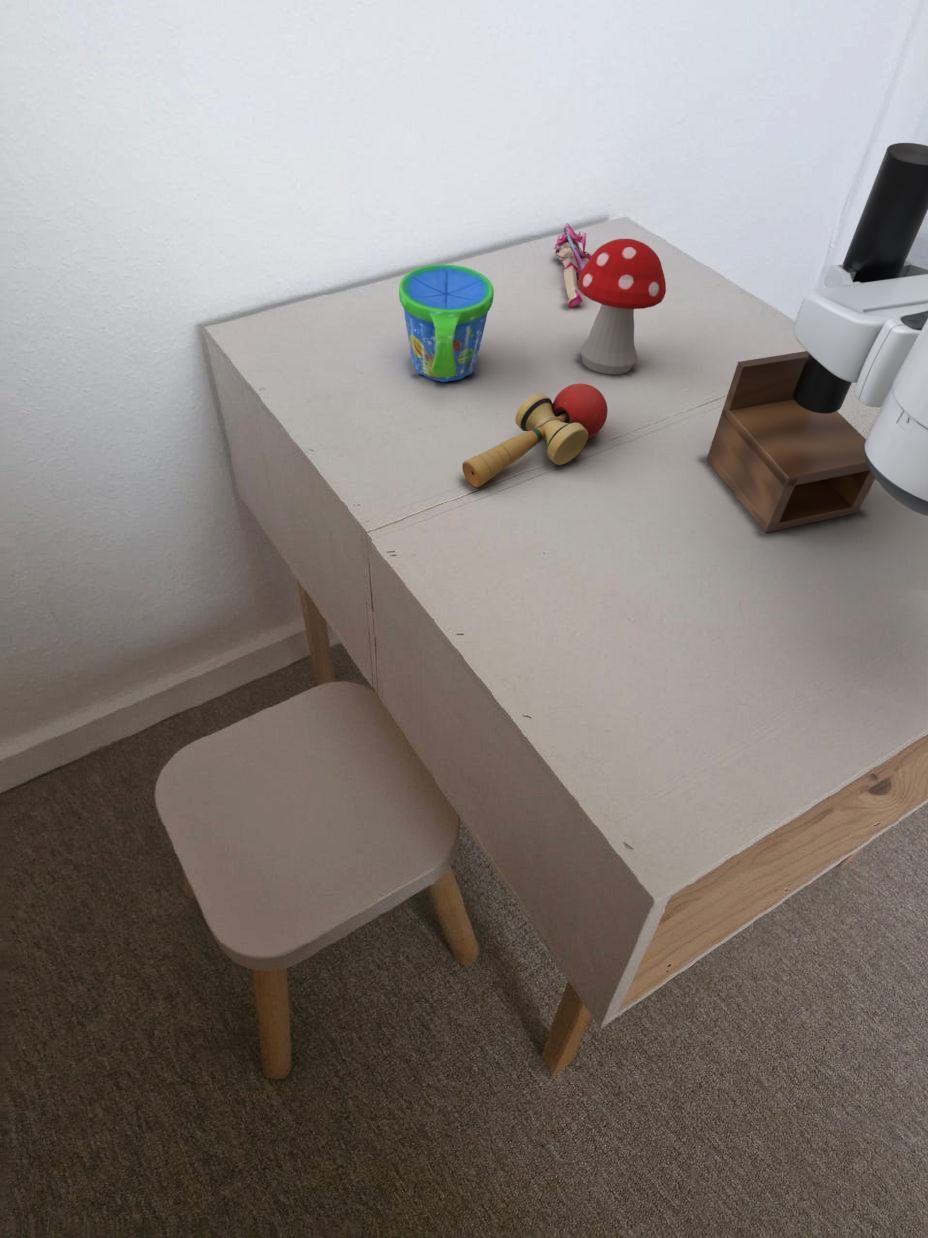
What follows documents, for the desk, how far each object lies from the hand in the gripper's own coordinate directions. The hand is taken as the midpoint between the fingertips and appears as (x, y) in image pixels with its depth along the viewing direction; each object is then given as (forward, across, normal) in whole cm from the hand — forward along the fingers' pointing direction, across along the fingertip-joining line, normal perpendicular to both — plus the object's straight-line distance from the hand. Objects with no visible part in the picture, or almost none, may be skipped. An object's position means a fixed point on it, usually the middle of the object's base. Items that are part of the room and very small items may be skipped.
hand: (862, 268), depth 72 cm
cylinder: (-1, 0, +12) cm, 13 cm away
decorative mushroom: (+25, +8, +23) cm, 35 cm away
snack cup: (+29, +28, +23) cm, 47 cm away
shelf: (-1, 0, +23) cm, 23 cm away
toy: (+46, +3, +23) cm, 51 cm away
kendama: (+11, +23, +23) cm, 35 cm away
